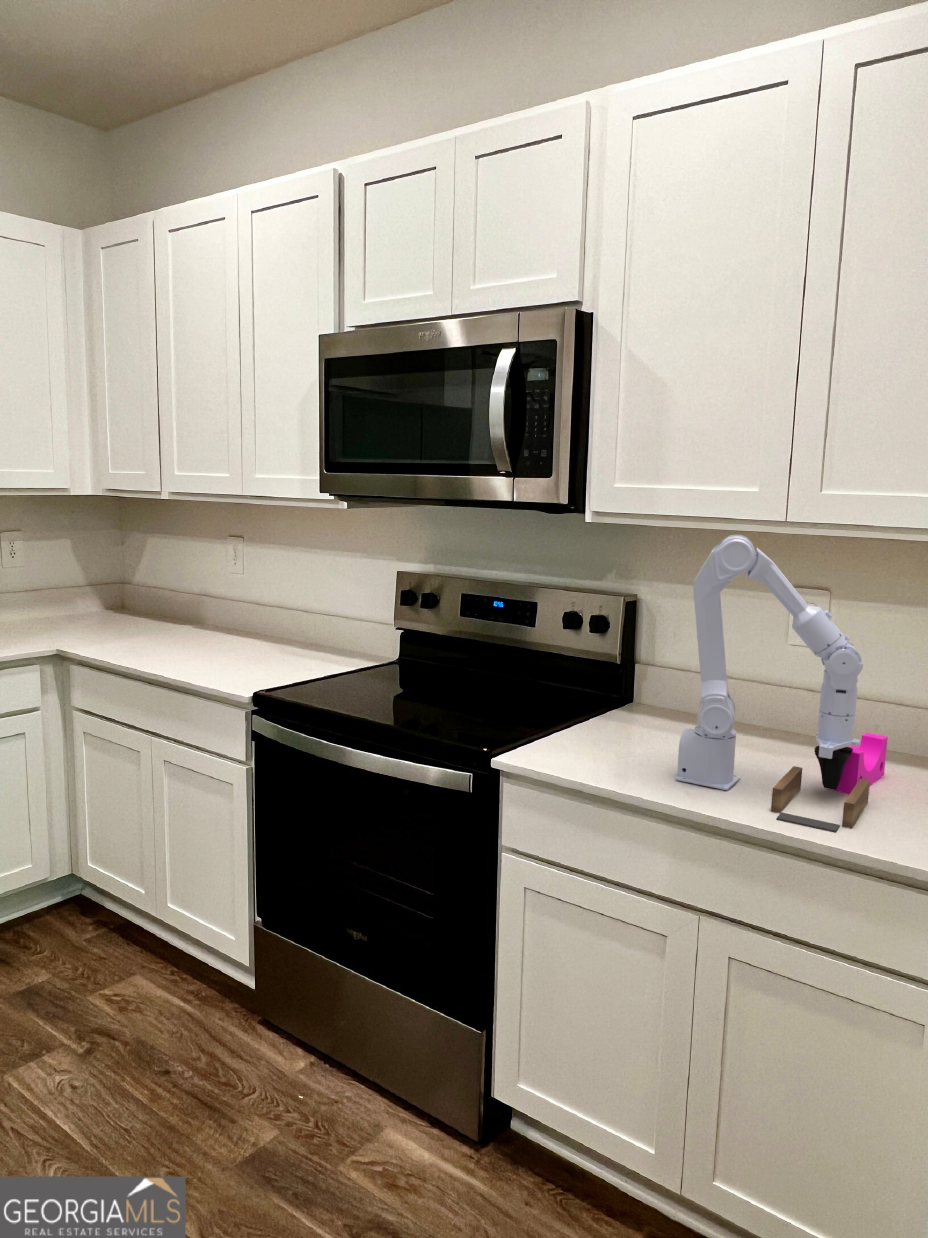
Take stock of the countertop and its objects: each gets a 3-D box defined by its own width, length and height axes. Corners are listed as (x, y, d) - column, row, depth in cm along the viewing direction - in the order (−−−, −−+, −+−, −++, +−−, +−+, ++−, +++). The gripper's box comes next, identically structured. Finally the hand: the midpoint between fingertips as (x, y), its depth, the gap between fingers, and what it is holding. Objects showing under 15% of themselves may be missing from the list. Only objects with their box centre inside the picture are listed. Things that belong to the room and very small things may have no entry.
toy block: (849, 768, 172) (853, 729, 171) (883, 775, 168) (887, 736, 167) (819, 786, 161) (823, 746, 160) (855, 795, 157) (859, 753, 155)
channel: (770, 811, 148) (772, 787, 148) (791, 787, 160) (793, 766, 159) (852, 828, 141) (854, 804, 141) (867, 803, 153) (870, 780, 152)
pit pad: (776, 819, 145) (776, 818, 144) (781, 814, 147) (781, 812, 147) (835, 832, 140) (836, 830, 140) (839, 826, 142) (839, 825, 142)
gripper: (853, 725, 146) (846, 805, 149) (869, 707, 158) (862, 781, 161) (808, 718, 150) (802, 796, 152) (827, 701, 162) (821, 773, 164)
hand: (830, 788), depth 157 cm, fingers closed
